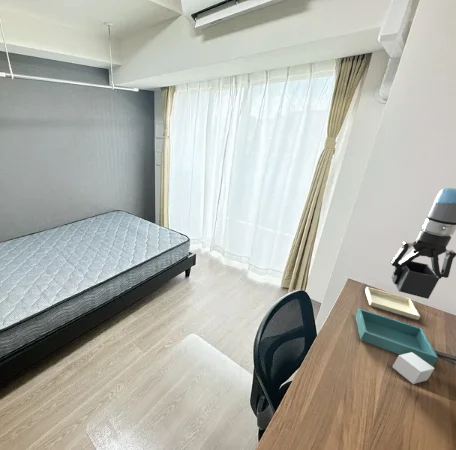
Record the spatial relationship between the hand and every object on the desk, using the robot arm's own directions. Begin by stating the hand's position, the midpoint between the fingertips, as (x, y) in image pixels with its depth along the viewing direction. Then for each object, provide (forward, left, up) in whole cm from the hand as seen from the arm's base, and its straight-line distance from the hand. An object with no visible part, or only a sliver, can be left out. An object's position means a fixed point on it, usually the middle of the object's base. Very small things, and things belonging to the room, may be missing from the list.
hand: (409, 286), depth 94 cm
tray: (-3, -16, -19) cm, 25 cm away
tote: (+2, +11, -19) cm, 22 cm away
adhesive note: (0, +27, -19) cm, 33 cm away
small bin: (0, 0, -1) cm, 1 cm away
